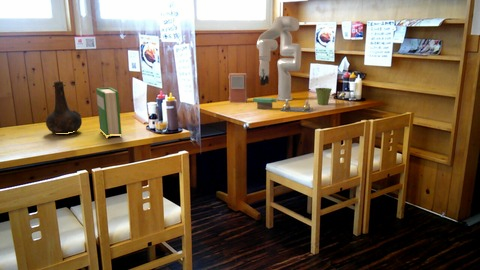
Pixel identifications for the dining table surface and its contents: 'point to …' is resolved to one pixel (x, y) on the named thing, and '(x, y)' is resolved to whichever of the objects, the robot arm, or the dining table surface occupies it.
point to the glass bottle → (62, 114)
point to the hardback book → (108, 110)
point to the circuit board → (265, 100)
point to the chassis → (296, 109)
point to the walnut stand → (264, 105)
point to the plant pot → (323, 95)
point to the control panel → (238, 87)
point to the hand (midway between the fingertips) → (264, 84)
